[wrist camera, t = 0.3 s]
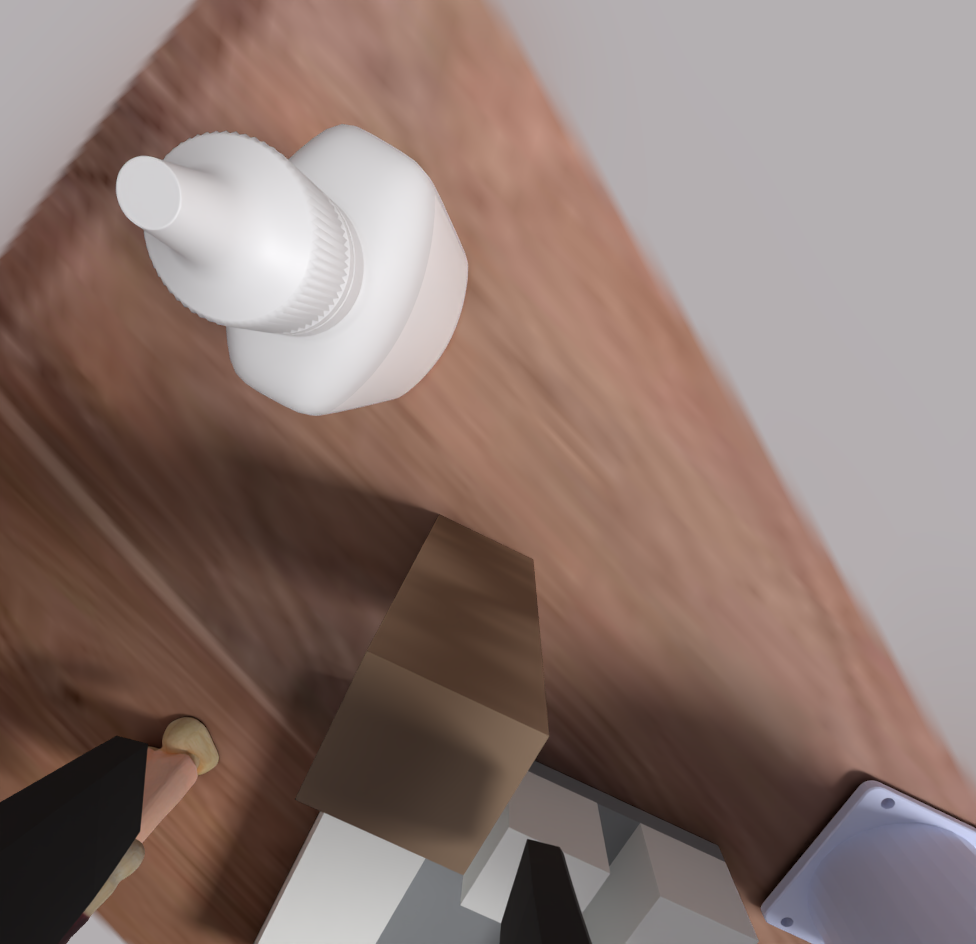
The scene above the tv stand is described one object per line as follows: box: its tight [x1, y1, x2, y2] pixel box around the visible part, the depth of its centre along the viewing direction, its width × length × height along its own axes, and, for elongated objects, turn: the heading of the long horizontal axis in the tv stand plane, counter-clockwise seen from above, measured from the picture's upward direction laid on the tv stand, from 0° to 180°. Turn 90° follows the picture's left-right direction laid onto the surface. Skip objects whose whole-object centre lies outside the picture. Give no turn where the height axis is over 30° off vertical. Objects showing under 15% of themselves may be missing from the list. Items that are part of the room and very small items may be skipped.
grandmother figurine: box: [58, 717, 219, 944], centre depth 15 cm, size 8×4×13 cm, turn 139°
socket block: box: [253, 761, 759, 944], centre depth 20 cm, size 16×16×4 cm
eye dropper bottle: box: [116, 124, 468, 416], centre depth 11 cm, size 4×6×12 cm
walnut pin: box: [295, 514, 549, 875], centre depth 14 cm, size 4×4×9 cm
